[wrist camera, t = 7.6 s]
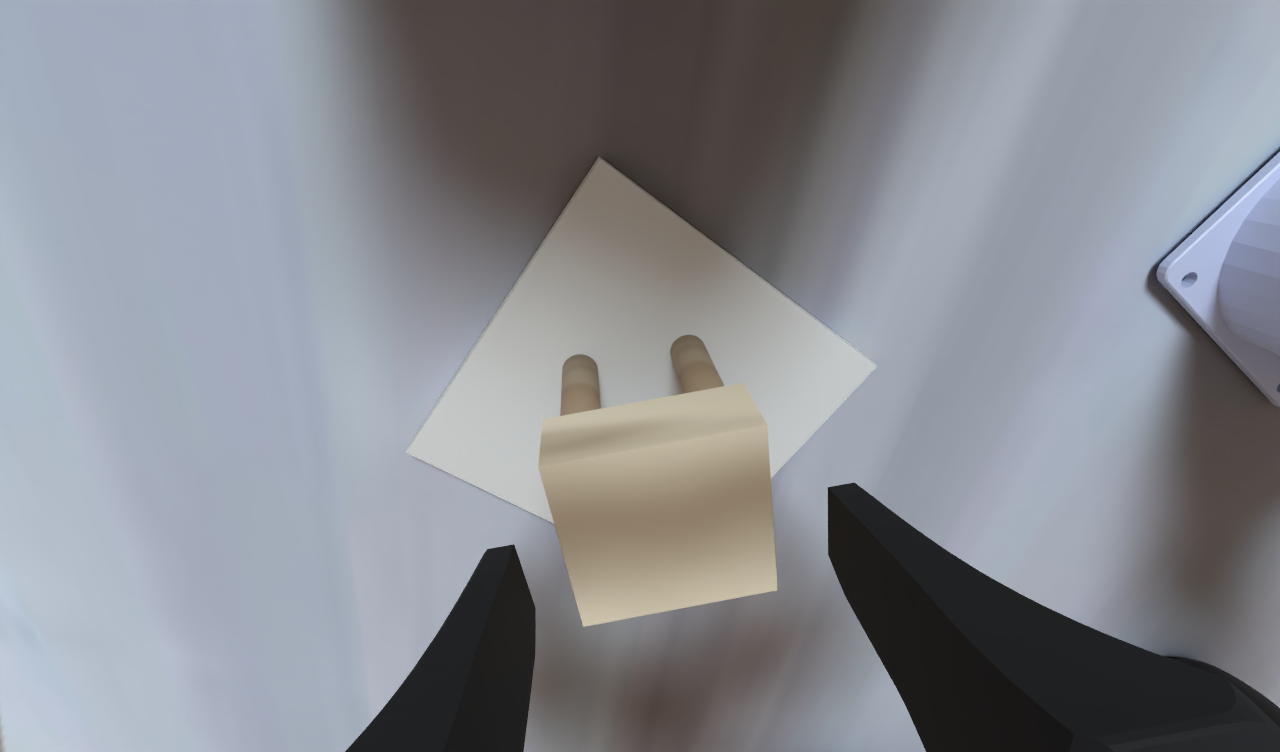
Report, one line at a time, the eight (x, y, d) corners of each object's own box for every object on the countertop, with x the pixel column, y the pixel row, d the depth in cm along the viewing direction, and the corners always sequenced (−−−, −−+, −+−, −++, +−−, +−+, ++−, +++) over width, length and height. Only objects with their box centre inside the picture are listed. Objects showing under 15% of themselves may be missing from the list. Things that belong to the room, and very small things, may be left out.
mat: (869, 358, 20) (877, 366, 19) (670, 569, 23) (673, 581, 23) (599, 156, 16) (599, 158, 16) (410, 442, 20) (405, 452, 19)
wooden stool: (724, 456, 20) (777, 590, 15) (581, 482, 20) (583, 627, 15) (710, 322, 18) (767, 425, 13) (548, 351, 18) (538, 466, 13)
